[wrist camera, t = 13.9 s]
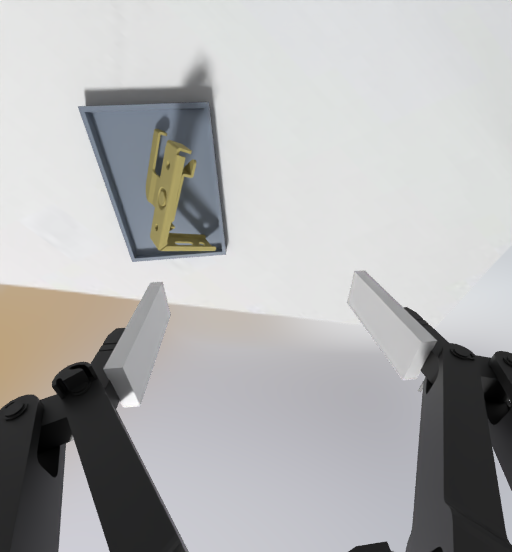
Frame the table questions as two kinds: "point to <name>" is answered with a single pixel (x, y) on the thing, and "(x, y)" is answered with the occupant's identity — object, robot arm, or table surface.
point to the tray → (157, 171)
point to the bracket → (170, 197)
